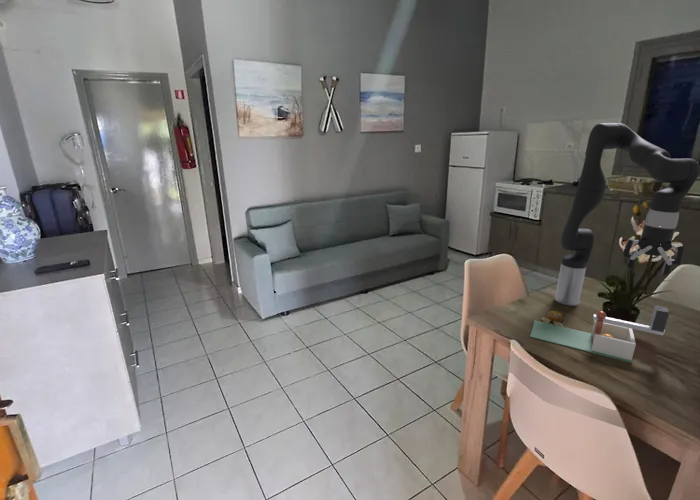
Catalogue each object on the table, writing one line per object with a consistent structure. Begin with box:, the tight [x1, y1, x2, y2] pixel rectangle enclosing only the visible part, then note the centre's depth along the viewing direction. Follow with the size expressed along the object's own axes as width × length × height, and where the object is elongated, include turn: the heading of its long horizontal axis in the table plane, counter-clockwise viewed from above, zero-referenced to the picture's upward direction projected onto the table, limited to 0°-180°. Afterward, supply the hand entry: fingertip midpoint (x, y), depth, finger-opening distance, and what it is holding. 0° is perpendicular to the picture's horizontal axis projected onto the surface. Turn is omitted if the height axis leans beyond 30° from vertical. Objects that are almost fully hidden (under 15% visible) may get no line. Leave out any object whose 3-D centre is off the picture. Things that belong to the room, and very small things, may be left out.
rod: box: [592, 305, 670, 344], centre depth 121 cm, size 4×19×17 cm, turn 58°
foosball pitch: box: [529, 319, 637, 364], centre depth 129 cm, size 14×30×6 cm, turn 58°
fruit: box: [540, 310, 565, 327], centre depth 143 cm, size 8×8×4 cm
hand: (646, 272), depth 117 cm, fingers open, 8 cm apart
